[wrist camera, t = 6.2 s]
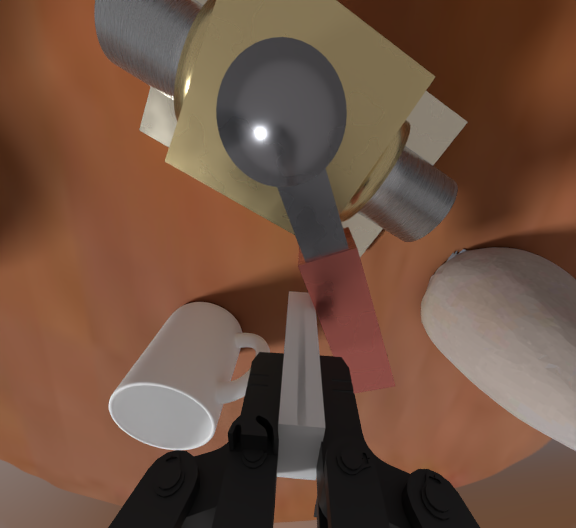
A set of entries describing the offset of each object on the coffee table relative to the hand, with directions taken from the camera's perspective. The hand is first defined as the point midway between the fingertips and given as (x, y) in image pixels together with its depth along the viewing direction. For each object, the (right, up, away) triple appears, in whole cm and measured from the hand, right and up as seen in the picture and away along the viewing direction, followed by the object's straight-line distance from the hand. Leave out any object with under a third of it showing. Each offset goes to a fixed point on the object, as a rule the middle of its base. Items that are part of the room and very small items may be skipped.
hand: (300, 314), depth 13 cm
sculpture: (+18, -1, +12) cm, 22 cm away
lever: (+1, +4, -1) cm, 4 cm away
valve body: (0, +13, +6) cm, 14 cm away
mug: (-8, -4, +16) cm, 18 cm away
